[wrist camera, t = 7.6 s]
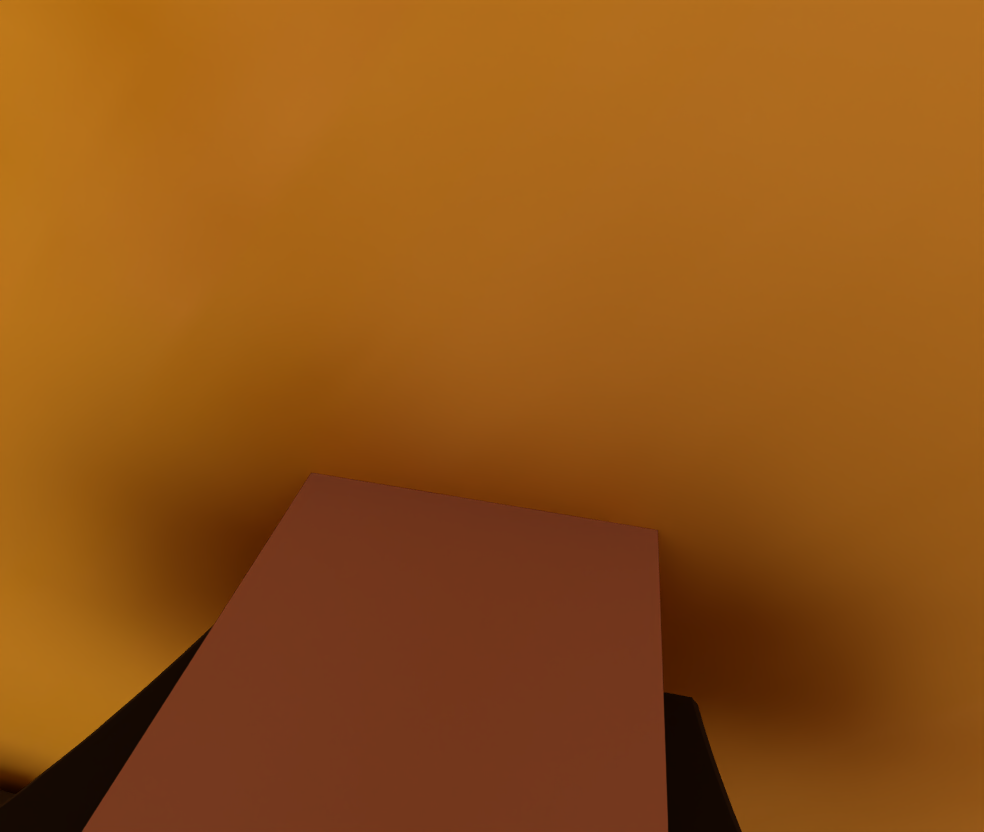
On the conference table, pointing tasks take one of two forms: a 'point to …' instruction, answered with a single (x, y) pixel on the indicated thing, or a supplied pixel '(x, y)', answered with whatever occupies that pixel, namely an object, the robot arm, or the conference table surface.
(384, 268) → the conference table surface
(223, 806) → the brown capped block
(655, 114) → the conference table surface
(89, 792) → the robot arm
